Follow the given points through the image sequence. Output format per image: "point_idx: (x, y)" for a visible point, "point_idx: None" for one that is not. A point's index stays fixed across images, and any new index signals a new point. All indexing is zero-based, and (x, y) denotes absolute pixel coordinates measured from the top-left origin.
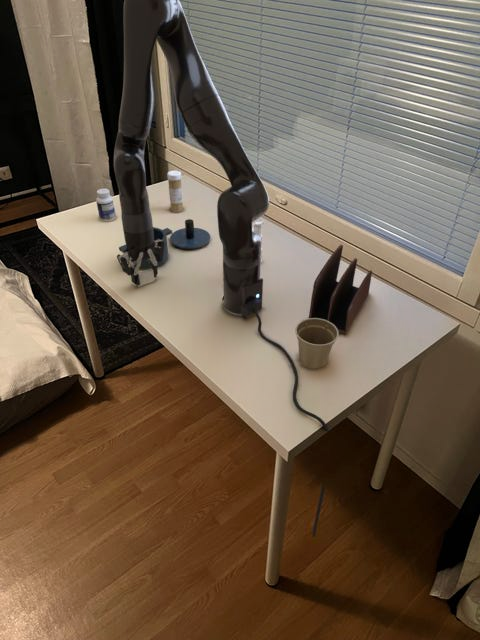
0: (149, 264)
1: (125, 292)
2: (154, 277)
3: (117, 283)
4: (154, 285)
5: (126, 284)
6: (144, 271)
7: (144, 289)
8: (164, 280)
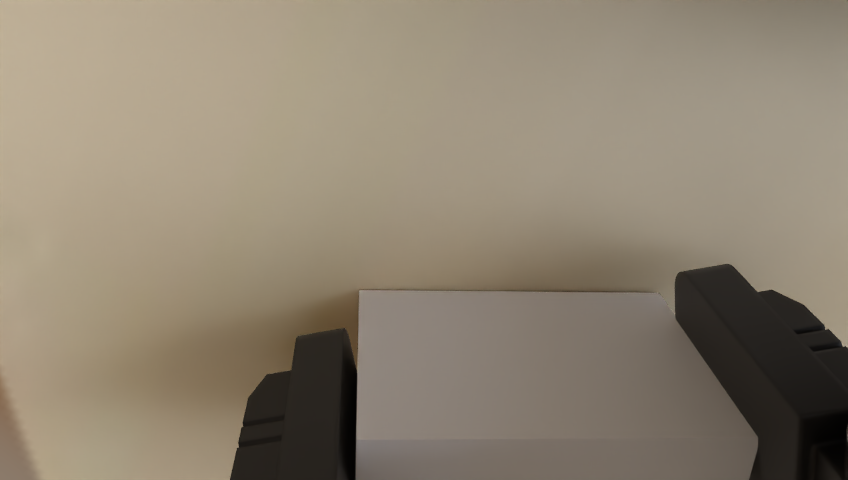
0: (798, 441)
1: (107, 391)
2: None
3: (38, 73)
4: None
5: (194, 196)
6: (567, 473)
7: None
8: None
